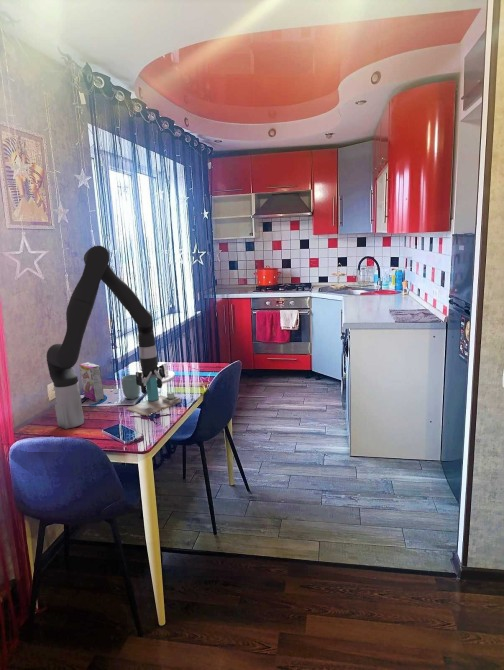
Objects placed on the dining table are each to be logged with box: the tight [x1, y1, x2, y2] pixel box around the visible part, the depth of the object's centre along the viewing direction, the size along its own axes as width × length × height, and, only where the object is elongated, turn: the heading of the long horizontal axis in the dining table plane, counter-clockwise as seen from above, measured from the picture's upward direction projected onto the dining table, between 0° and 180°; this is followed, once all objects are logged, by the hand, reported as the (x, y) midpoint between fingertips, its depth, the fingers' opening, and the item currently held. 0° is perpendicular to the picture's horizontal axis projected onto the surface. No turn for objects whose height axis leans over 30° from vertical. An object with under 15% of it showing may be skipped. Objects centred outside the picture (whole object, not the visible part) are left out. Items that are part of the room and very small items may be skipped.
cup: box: [120, 374, 141, 400], centre depth 217 cm, size 8×8×10 cm
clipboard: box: [126, 394, 182, 417], centre depth 205 cm, size 19×14×2 cm
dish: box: [132, 360, 176, 386], centre depth 245 cm, size 25×25×11 cm
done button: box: [166, 391, 176, 400], centre depth 207 cm, size 3×3×2 cm
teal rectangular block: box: [145, 374, 159, 402], centre depth 209 cm, size 4×4×12 cm
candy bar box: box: [78, 361, 105, 402], centre depth 219 cm, size 11×5×16 cm, turn 47°
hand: (152, 390), depth 209 cm, fingers open, 8 cm apart
